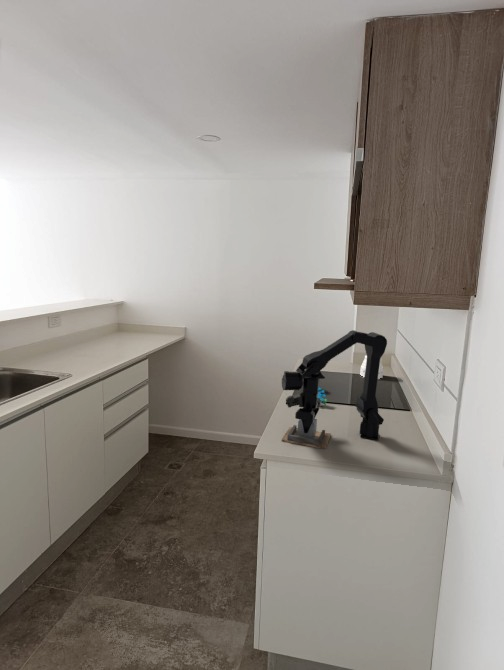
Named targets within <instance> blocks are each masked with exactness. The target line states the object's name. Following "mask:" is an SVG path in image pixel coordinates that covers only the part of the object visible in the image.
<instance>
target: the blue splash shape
mask: <svg viewBox="0 0 504 670" xmlns="http://www.w3.org/2000/svg"><path fill="white" fill-rule="evenodd" d="M318 392H319V395H318V398H319V399H320V400H321V404H322V405H324V406H327V402H328V399H327V398H326V396H327V395H326V394H325V390H324V389H322V388H321V387H320V386H318Z"/></svg>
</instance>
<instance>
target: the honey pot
mask: <svg viewBox="0 0 504 670" xmlns="http://www.w3.org/2000/svg"><path fill="white" fill-rule="evenodd" d="M382 360H383V356H382V357H381V358H380V365H379V373H378V380H381V379H380V378H382V379H383V378H384V377H383V376H384V367H383V363H382V362H383V361H382ZM366 362H367V354H365V355H364V359H363V361H362V364H361V365H360V369H359V370H360V371H359V372H360V373H359V376H360V375H361V376H363V377H362V378H364V377H365V370H366ZM361 376H360V377H361Z"/></svg>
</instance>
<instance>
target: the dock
mask: <svg viewBox="0 0 504 670" xmlns="http://www.w3.org/2000/svg"><path fill="white" fill-rule="evenodd" d="M297 435H298V424H297V425H296V424H293V426H289V428H288V429H287V430H286V432H285V433H284V435H283V437H282V438H281V442H285V443H289V444H290V443H291V444H297V445H300V446H302V445H303V446H308V447H312V448H319V449H323V450H326V448H327V446H328V443H329V440H330V438H331V435H332V433H329V432H326V430H325V429H322V430H321V431H319V430H318V431H317V430H316V434H315V437H314V438H309V437H303V436H297Z"/></svg>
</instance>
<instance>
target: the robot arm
mask: <svg viewBox="0 0 504 670" xmlns="http://www.w3.org/2000/svg"><path fill="white" fill-rule="evenodd" d="M356 344H360V345H361V344H362V345H364V350H365V355H367V362H366V370H365V378H364V380H363V389H362V393H361V395H360V396H357V395H356V398H355V399H356V402H355V405H354V406H355V407H356V411H357V412H358V414H359V415H360V417H361V418H362V421H360V425H359V436H360V438H363V439H368V440H369V439H370V440H375V441H378V440H379V435H380V433H379V431H380V426H381V425H383V423H384V418H383V417H382V416H381V415H380V413H379V404H378V399H377V390H378V389H377V387H378V380H379V379H378V373H379V365H380V358H381V357H382V358H383V355H384V354H385V351H386V349H387V344H388V340H387V338H386V337H385V336H384V335H382V334H379V333H377V332H369V333H366V332H362V331H357V330H350V331H349V332H348V333H346V334H345V335H342V337H339V339H337V340H335V341H334V342H332V343H331V344H329V345H328V346H326V347H325V348H322V349H320V350H318V351H314V352H311V353H308V354H306V355H305V356H304V357H303V358H302V362H301V364H300V365H299V366H298V367H297V368H296V369H295V371H288V370H285V371H284V372H283V375H282V378H281V388H282V391H300V390H301V389H302V391H301V392H300V393H297V394H292V395H289V396H287V397H286V399H285V405H286V406H287V408H292V407H296V406H298V407H299V408H298V409H297V410H296V412H295V418H294V419H296V420H300V419H301V420H302V424H303V429H304V433H308V431H309V429H310V427H311V425H312V422H313V420H314V419H316V417H317V414H318V413H319V410H320V407H321V406H322V403H321V400H320V399H319V398H318V395H319V392H320V391H318V388H319V385H320V379H321V380H322V379H325V378H326V377H325V376H324V375H323V373H322V372H321V371H322V370H323V369H324V368H325V367H326V366H327V365H328V363H329V362H330V361H331V360H332V359H334V358H336V357H337V356H339V355H340V354H341V353H342V354H343V352H345V351H346V350H348V349H350V348H351V347H352V346H354V345H356Z"/></svg>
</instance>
